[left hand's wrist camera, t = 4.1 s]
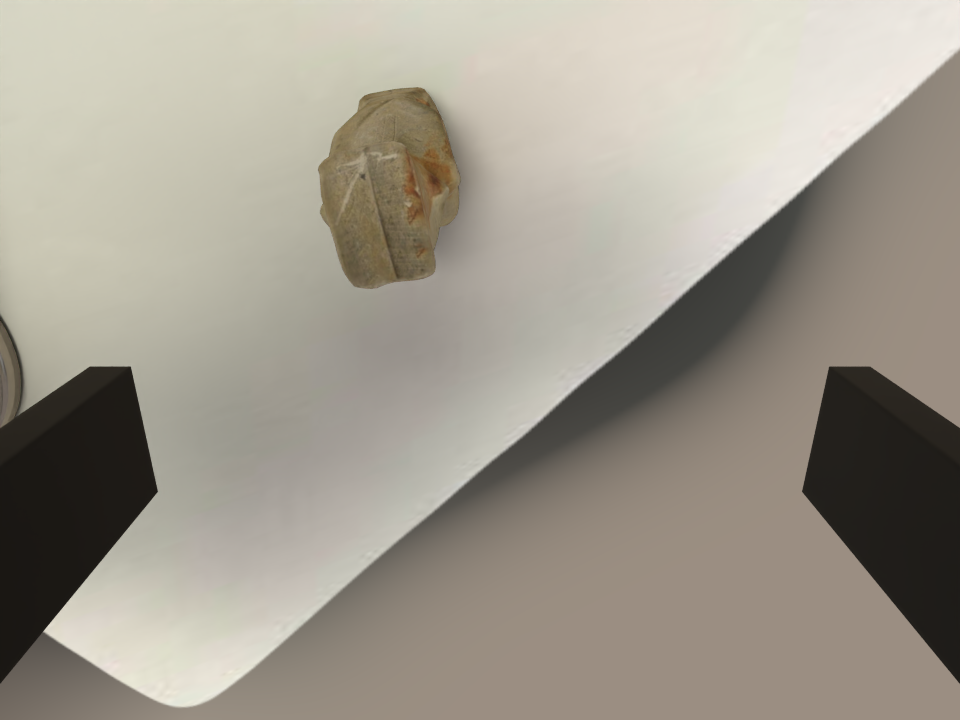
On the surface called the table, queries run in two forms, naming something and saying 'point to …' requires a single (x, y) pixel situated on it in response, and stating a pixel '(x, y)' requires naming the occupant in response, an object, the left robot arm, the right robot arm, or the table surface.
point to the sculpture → (389, 188)
